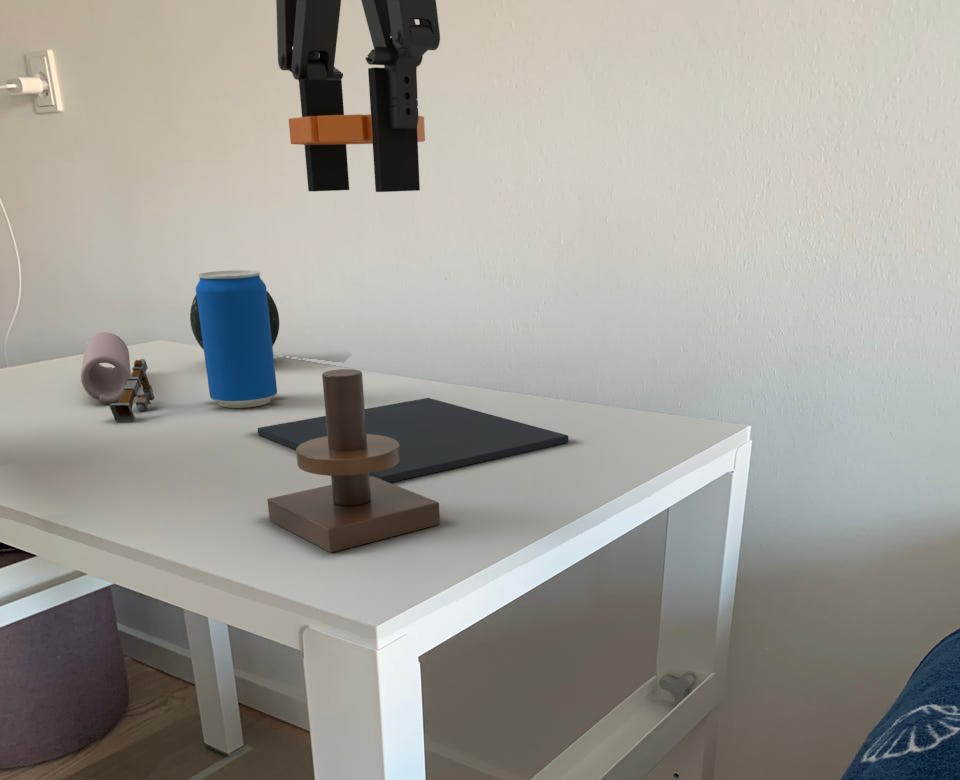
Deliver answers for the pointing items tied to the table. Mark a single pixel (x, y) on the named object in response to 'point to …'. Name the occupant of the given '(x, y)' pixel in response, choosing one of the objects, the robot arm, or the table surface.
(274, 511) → the stand
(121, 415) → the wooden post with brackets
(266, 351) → the beverage can
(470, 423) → the mat
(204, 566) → the table surface
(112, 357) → the pink tube
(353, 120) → the ring
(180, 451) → the table surface
